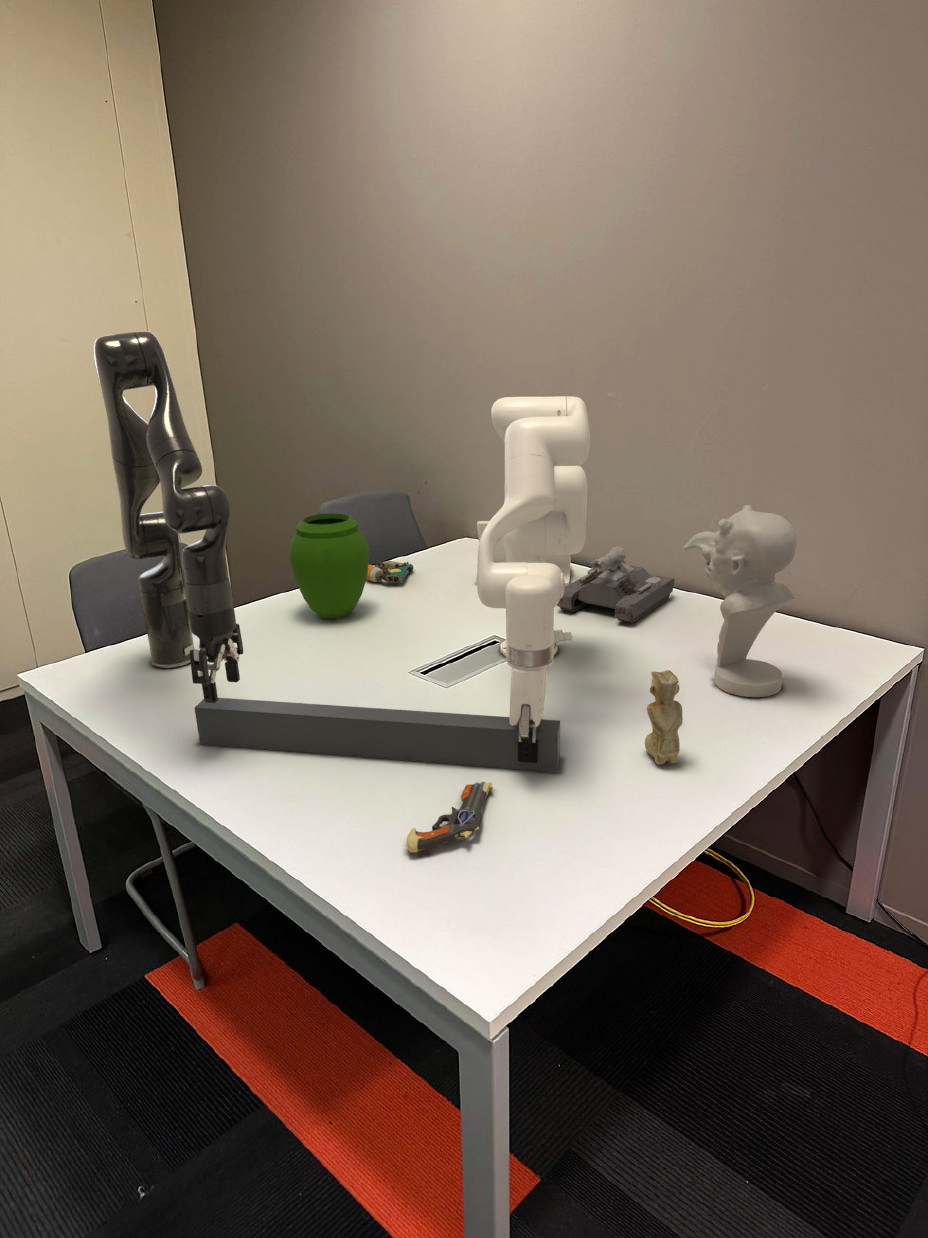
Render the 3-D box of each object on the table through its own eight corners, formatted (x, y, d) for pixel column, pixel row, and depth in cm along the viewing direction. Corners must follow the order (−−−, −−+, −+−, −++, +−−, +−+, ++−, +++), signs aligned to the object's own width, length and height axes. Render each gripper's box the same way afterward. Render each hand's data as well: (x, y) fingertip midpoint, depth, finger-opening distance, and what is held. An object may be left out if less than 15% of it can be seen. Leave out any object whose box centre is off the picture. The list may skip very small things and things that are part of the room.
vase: (389, 608, 216) (383, 514, 208) (339, 633, 201) (330, 533, 192) (330, 596, 226) (322, 506, 218) (278, 619, 211) (267, 523, 202)
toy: (603, 584, 229) (605, 530, 224) (673, 597, 218) (677, 540, 213) (555, 612, 210) (556, 553, 205) (630, 627, 199) (633, 566, 194)
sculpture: (673, 746, 147) (678, 666, 142) (685, 767, 140) (691, 684, 135) (639, 747, 147) (643, 667, 141) (650, 769, 140) (654, 686, 135)
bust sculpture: (716, 647, 187) (729, 489, 174) (804, 687, 167) (826, 512, 154) (658, 663, 180) (668, 499, 167) (743, 707, 160) (761, 525, 147)
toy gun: (402, 841, 119) (471, 840, 117) (431, 778, 137) (492, 776, 135) (405, 858, 120) (474, 857, 118) (434, 793, 138) (494, 791, 136)
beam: (559, 759, 144) (560, 720, 142) (557, 772, 140) (557, 732, 138) (211, 732, 157) (206, 696, 154) (199, 744, 153) (194, 707, 150)
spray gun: (382, 568, 251) (427, 575, 245) (352, 581, 237) (399, 589, 231) (382, 554, 250) (427, 560, 244) (351, 566, 235) (399, 574, 230)
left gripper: (210, 590, 152) (221, 674, 157) (168, 617, 139) (183, 708, 144) (249, 592, 150) (259, 676, 156) (211, 619, 137) (224, 710, 143)
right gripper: (514, 632, 144) (514, 728, 151) (498, 673, 129) (499, 778, 135) (558, 634, 143) (557, 731, 149) (547, 676, 128) (546, 782, 134)
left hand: (222, 691), depth 150 cm, fingers open, 8 cm apart
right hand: (529, 752), depth 142 cm, fingers closed on beam, 4 cm apart
